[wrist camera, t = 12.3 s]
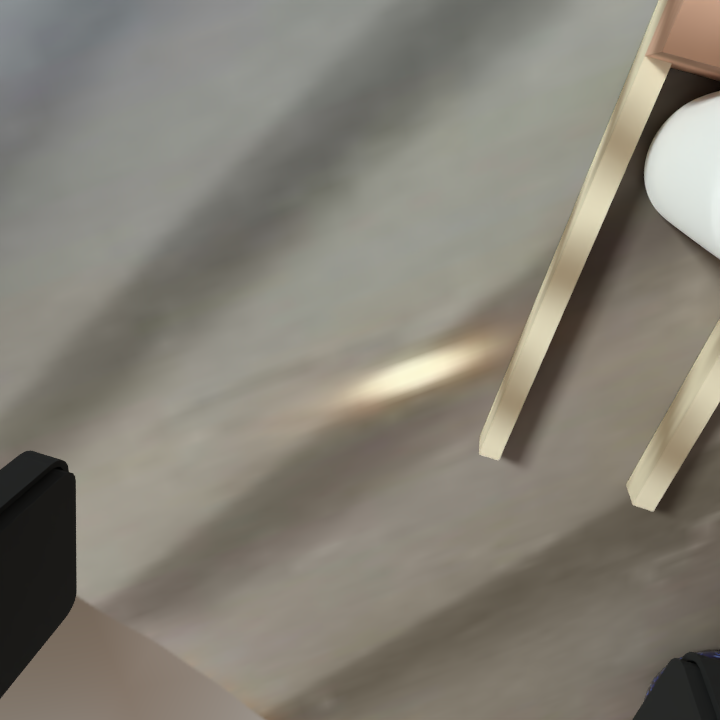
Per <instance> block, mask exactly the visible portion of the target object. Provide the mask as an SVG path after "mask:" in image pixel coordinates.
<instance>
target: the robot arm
mask: <svg viewBox="0 0 720 720" xmlns="http://www.w3.org/2000/svg"><path fill="white" fill-rule="evenodd" d="M75 597H76V480H75V476H74V474H73V473H70V472H69V470H68V465H67V463H66V462H65V461H63V460H60V459H57V458H53V457H50V456H47V455H43V454H40V453H37V452H34V451H26V452H24V453H22V454H20V455H19V456H18V457H16V458H15V459H14V460H12V461H11V462H10V463H9V464H7V465H6V466H5V467H3V468H2V469H1V470H0V698H1V697H2V696H3V694H4V693H5V692H6V691H7V690H8V688H9V687H10V686H11V685H12V683H13V682H14V681H15V680H16V678H17V677H18V676H19V675H20V673H21V672H22V671H23V670H24V668H25V667H26V666H27V665H28V663H29V662H30V661H31V660H32V659H33V657H34V656H35V655H36V653H37V652H38V651H39V650H40V649H41V647H42V646H43V645H44V643H45V642H46V641H47V640H48V639H49V637H50V636H51V635H52V634H53V632H54V631H55V630H56V629H57V628H58V626H59V625H60V624H61V623H62V621H63V620H64V619H65V618H66V616H67V615H68V613H69V612H70V610H71V608H72V606H73V604H74V601H75ZM633 720H720V660H717V659H714V658H710V657H707V656H704V655H700V654H697V653H693V652H689V653H687V654H685V655H684V657H683V658H682V659H677V658H674V659H672V660H671V661H670V662H669V663H668V665H667V666H666V668H665V669H664V671H663V673H662V674H661V676H660V677H659V679H658V680H657V682H656V684H655V685H654V687H653V688H652V690H651V691H650V693H649V695H648V696H647V698H646V699H645V701H644V702H643V704H642V706H641V707H640V709H639V710H638V712H637V713H636V715H635V717H634V718H633Z"/></svg>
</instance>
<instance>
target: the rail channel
mask: <svg viewBox="0 0 720 720" xmlns="http://www.w3.org/2000/svg"><path fill="white" fill-rule="evenodd" d="M670 68H673V69H677V70H681V71H684V72H688V73H692V74H695V75H699V76H702V77H706V78H710V79H713V80H717V81H720V0H659V1H658V4H657V6H656V8H655V11H654V13H653V16H652V18H651V21H650V23H649V25H648V28H647V30H646V33H645V35H644V38H643V40H642V43H641V45H640V47H639V50H638V52H637V55H636V57H635V60H634V62H633V64H632V67H631V69H630V72H629V74H628V77H627V79H626V82H625V84H624V86H623V89H622V91H621V94H620V96H619V99H618V101H617V103H616V106H615V108H614V111H613V113H612V116H611V118H610V121H609V123H608V125H607V128H606V130H605V133H604V135H603V138H602V140H601V142H600V145H599V147H598V150H597V152H596V155H595V157H594V160H593V162H592V164H591V167H590V169H589V172H588V174H587V177H586V179H585V181H584V184H583V186H582V189H581V191H580V194H579V196H578V199H577V201H576V203H575V206H574V208H573V211H572V213H571V216H570V218H569V220H568V223H567V225H566V228H565V230H564V233H563V235H562V238H561V240H560V242H559V245H558V247H557V250H556V252H555V255H554V257H553V259H552V262H551V264H550V267H549V269H548V272H547V274H546V277H545V279H544V281H543V284H542V286H541V289H540V291H539V294H538V296H537V298H536V301H535V303H534V306H533V308H532V311H531V313H530V316H529V318H528V320H527V323H526V325H525V328H524V330H523V333H522V335H521V337H520V340H519V342H518V345H517V347H516V350H515V352H514V355H513V357H512V359H511V362H510V364H509V367H508V369H507V372H506V374H505V376H504V379H503V381H502V384H501V386H500V389H499V391H498V394H497V396H496V398H495V401H494V403H493V406H492V408H491V411H490V413H489V415H488V418H487V420H486V423H485V425H484V428H483V430H482V432H481V435H480V443H479V454H480V455H483V456H486V457H489V458H492V459H495V460H498V461H499V459H500V457H501V454H502V452H503V450H504V448H505V445H506V443H507V441H508V438H509V436H510V434H511V431H512V429H513V427H514V425H515V422H516V420H517V418H518V415H519V413H520V411H521V409H522V406H523V404H524V402H525V399H526V397H527V395H528V393H529V390H530V388H531V386H532V383H533V381H534V379H535V376H536V374H537V372H538V370H539V367H540V365H541V363H542V360H543V358H544V356H545V354H546V351H547V349H548V347H549V344H550V342H551V340H552V338H553V335H554V333H555V331H556V328H557V326H558V324H559V321H560V319H561V317H562V315H563V312H564V310H565V308H566V305H567V303H568V301H569V299H570V296H571V294H572V292H573V289H574V287H575V285H576V283H577V280H578V278H579V276H580V273H581V271H582V269H583V266H584V264H585V262H586V260H587V257H588V255H589V253H590V250H591V248H592V246H593V244H594V241H595V239H596V237H597V234H598V232H599V230H600V228H601V225H602V223H603V221H604V218H605V216H606V214H607V211H608V209H609V207H610V205H611V202H612V200H613V198H614V195H615V193H616V191H617V189H618V186H619V184H620V182H621V179H622V177H623V175H624V173H625V170H626V168H627V166H628V163H629V161H630V159H631V156H632V154H633V152H634V150H635V147H636V145H637V143H638V140H639V138H640V136H641V134H642V131H643V129H644V127H645V124H646V122H647V120H648V118H649V115H650V113H651V111H652V108H653V106H654V104H655V101H656V99H657V97H658V95H659V92H660V90H661V88H662V85H663V83H664V81H665V79H666V76H667V74H668V72H669V69H670ZM719 402H720V319H719V321H718V323H717V324H716V326H715V328H714V330H713V331H712V333H711V335H710V337H709V338H708V340H707V342H706V344H705V346H704V347H703V349H702V351H701V353H700V354H699V356H698V358H697V360H696V362H695V363H694V365H693V367H692V369H691V370H690V372H689V374H688V376H687V377H686V379H685V381H684V383H683V385H682V386H681V388H680V390H679V392H678V393H677V395H676V397H675V399H674V401H673V402H672V404H671V406H670V408H669V409H668V411H667V413H666V415H665V417H664V418H663V420H662V422H661V424H660V425H659V427H658V429H657V431H656V432H655V434H654V436H653V438H652V440H651V441H650V443H649V445H648V447H647V448H646V450H645V452H644V454H643V456H642V457H641V459H640V461H639V463H638V464H637V466H636V468H635V470H634V471H633V473H632V475H631V477H630V479H629V480H628V482H627V484H626V486H627V489H628V492H629V495H630V498H631V501H632V504H633V505H635V506H638V507H641V508H644V509H647V510H650V511H654V510H655V508H656V506H657V505H658V503H659V501H660V500H661V498H662V496H663V495H664V493H665V491H666V490H667V488H668V486H669V485H670V483H671V481H672V480H673V478H674V477H675V475H676V473H677V472H678V470H679V468H680V467H681V465H682V463H683V462H684V460H685V458H686V457H687V455H688V453H689V452H690V450H691V448H692V447H693V445H694V443H695V442H696V440H697V438H698V437H699V435H700V433H701V432H702V430H703V429H704V427H705V425H706V424H707V422H708V420H709V419H710V417H711V415H712V414H713V412H714V410H715V409H716V407H717V405H718V404H719Z"/></svg>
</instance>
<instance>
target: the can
mask: <svg viewBox="0 0 720 720" xmlns="http://www.w3.org/2000/svg"><path fill="white" fill-rule="evenodd" d="M644 181H645V187H646V191H647V194H648V197H649V199H650V201H651V203H652V204H653V206H654V207H655V209H656V210H657V211H658V212H659V213H660V214H661V215H662V216H663V217H664V218H665V219H666V220H667V221H668V222H670V223H671V224H672V225H674V226H675V227H676V228H678V229H679V230H680V231H682V232H683V233H684V234H686V235H687V236H688V237H690V238H691V239H692V240H694V241H695V242H696V243H698V244H699V245H700V246H702V247H703V248H705V249H706V250H707V251H709V252H710V253H711V254H713V255H714V256H716V257H717V258H718V259H720V91H717V92H713V93H710V94H707V95H704V96H701V97H699V98H697V99H694V100H692V101H690V102H689V103H687V104H685V105H684V106H682V107H681V108H680V109H678V110H677V111H676V112H675V113H673V114H672V115H671V116H670V117H669V118H668V119H667V120H666V121H665V123H664V124H663V125H662V126H661V128H660V129H659V130H658V132H657V133H656V135H655V137H654V139H653V140H652V142H651V145H650V147H649V150H648V153H647V156H646V160H645V166H644Z"/></svg>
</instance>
